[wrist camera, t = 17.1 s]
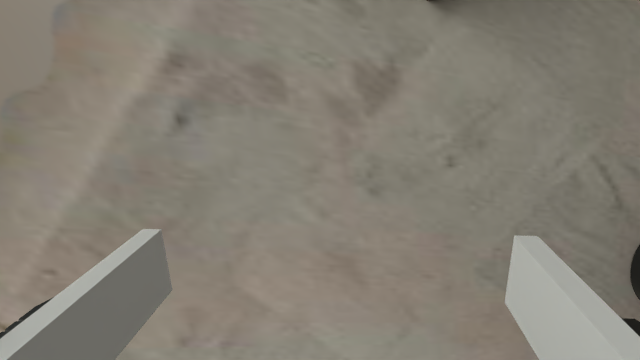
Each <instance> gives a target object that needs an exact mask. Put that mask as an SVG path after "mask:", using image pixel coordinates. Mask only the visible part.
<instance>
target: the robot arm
mask: <svg viewBox="0 0 640 360" xmlns="http://www.w3.org/2000/svg"><path fill="white" fill-rule="evenodd" d="M631 282H632V286H633V289H634V292H635V293H636V295H637V297H638V298H639V299H640V245H639V247H638V249H637V251H636V253H635V255H634V258H633V261H632V265H631ZM171 291H172V285H171V279H170V274H169V269H168V263H167V258H166V252H165V247H164V241H163V236H162V231H161V229H142V230H141V231H140V232H139V233H137V234H136V235H135V236H133V237H132V238H131V239H129V240H128V241H127V242H126V243H124V244H123V245H122V246H120V247H119V248H118V249H116V250H115V251H114V252H112V253H111V254H110V255H109V256H107V257H106V258H105V259H103V260H102V261H101V262H99V263H98V264H97V265H96V266H94V267H93V268H92V269H90V270H89V271H88V272H86V273H85V274H84V275H83V276H81V277H80V278H79V279H77V280H76V281H75V282H73V283H72V284H71V285H70V286H68V287H67V288H66V289H64V290H63V291H62V292H60V293H59V294H58V295H57V296H55V297H53V298H51V299H49V300H47V301H45V302H44V303H42V304H40V305H38V306H36V307H34V308H33V309H32V310H30V311H29V312H28V313H26V314H25V315H24V316H22V317H21V318H20V319H19V321H16V322H14V323H13V324H12V325H10V326H9V327H8V328H6V329H5V332H1V333H0V360H115V359H116V358H117V356H118V355H119V354H120V353H121V352H122V350H123V349H124V348H125V347H126V345H127V344H128V343H129V342H130V341H131V339H132V338H133V337H134V336H135V335H136V333H137V332H138V331H139V330H140V329H141V327H142V326H143V325H144V324H145V322H146V321H147V320H148V319H149V318H150V316H151V315H152V314H153V313H154V312H155V310H156V309H157V308H158V307H159V306H160V304H161V303H162V302H163V301H164V299H165V298H166V297H167V296H168V295H169V293H170V292H171ZM505 304H506V305H507V307H508V309H509V310H510V312H511V314H512V315H513V317H514V319H515V320H516V322H517V324H518V325H519V327H520V329H521V330H522V332H523V334H524V335H525V337H526V339H527V340H528V342H529V344H530V345H531V347H532V349H533V350H534V352H535V354H536V355H537V357H538V359H539V360H640V322H639V321H637V320H635V319H623V318H620V317H619V316H618V315H617V314H616V313H615V312H614V311H613V310H612V309H611V308H610V307H609V306H608V305H607V304H606V303H605V302H604V301H603V300H602V299H601V298H600V297H599V296H598V295H597V294H596V293H595V292H594V291H593V290H592V289H591V288H590V287H589V286H588V285H587V284H586V283H585V282H584V281H583V280H582V279H581V278H580V277H579V276H578V275H577V274H576V273H575V272H573V271H572V270H571V269H570V268H569V267H568V266H567V265H566V264H565V263H564V262H563V261H562V260H561V259H560V258H559V257H558V256H557V255H556V254H555V253H554V252H553V251H552V250H551V249H550V248H549V247H548V246H547V245H546V244H545V243H544V242H543V241H542V240H541V239H540V238H539V237H538V236H514V242H513V249H512V255H511V262H510V269H509V276H508V283H507V290H506V297H505Z"/></svg>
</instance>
